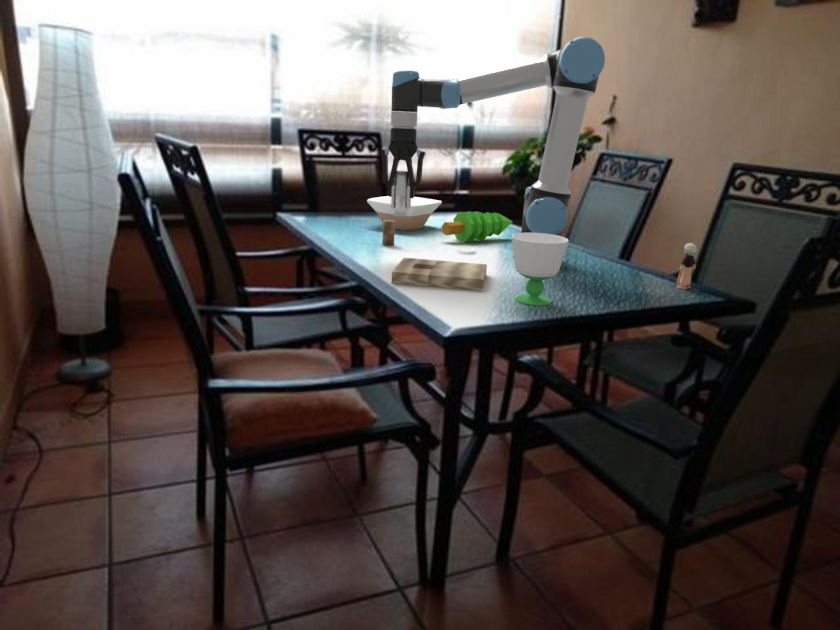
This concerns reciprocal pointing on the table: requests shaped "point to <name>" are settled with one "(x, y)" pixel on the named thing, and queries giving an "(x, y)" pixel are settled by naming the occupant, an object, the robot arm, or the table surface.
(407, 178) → the pin
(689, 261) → the grandmother figurine
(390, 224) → the walnut dowel
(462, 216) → the decorative tree
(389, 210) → the bowl
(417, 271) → the board
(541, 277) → the cup
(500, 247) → the table surface
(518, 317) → the table surface
